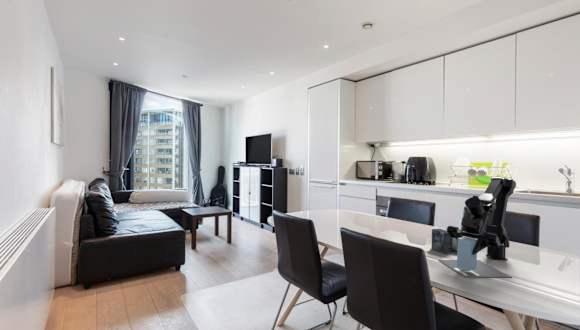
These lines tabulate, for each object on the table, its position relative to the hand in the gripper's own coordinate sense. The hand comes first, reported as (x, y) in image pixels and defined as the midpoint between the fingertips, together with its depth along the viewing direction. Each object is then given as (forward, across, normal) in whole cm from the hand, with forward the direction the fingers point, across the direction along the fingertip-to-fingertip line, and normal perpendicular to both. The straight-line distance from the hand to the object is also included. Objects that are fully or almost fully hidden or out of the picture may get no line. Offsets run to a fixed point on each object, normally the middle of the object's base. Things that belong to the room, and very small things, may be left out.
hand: (465, 252), depth 117 cm
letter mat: (0, 0, +12) cm, 12 cm away
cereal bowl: (-17, -19, +30) cm, 39 cm away
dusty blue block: (+4, 0, +6) cm, 7 cm away
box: (-9, -20, +22) cm, 31 cm away
